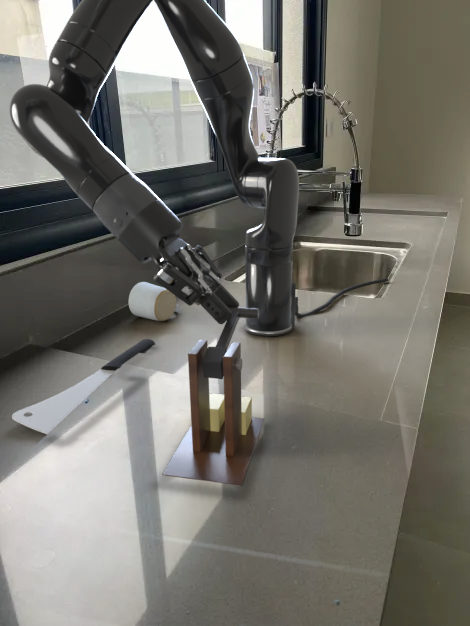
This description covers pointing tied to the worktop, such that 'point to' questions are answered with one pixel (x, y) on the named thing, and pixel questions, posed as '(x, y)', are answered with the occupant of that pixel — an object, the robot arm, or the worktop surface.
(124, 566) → the worktop surface
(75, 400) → the kitchen cleaver
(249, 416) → the butter
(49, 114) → the robot arm
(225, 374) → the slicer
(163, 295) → the ceramic mug
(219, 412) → the butter
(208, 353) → the lever
